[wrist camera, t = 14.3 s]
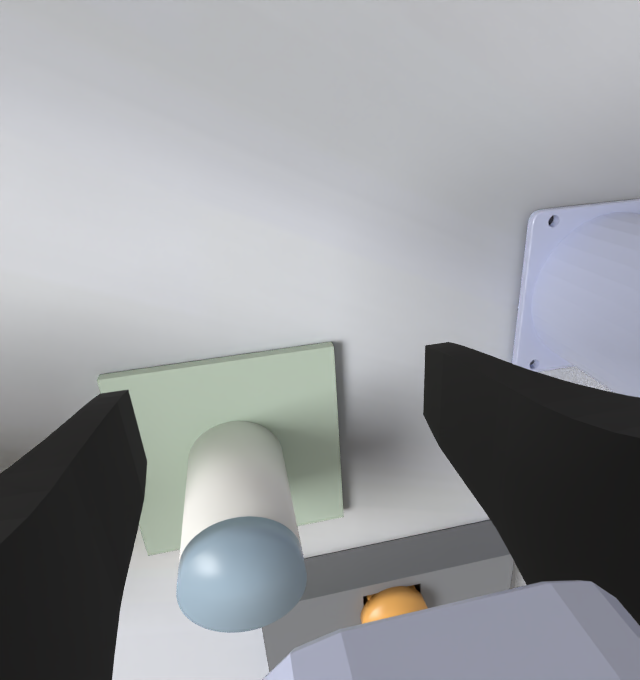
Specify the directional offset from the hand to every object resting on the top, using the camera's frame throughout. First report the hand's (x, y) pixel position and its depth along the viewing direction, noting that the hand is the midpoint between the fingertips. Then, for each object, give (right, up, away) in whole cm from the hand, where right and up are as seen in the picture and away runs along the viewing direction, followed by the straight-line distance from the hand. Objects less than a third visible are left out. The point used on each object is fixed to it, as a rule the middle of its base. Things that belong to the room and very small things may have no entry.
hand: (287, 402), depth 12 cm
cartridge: (-3, -4, +11) cm, 12 cm away
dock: (+5, -16, +18) cm, 24 cm away
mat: (-3, -4, +11) cm, 13 cm away
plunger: (+4, -12, +16) cm, 21 cm away
